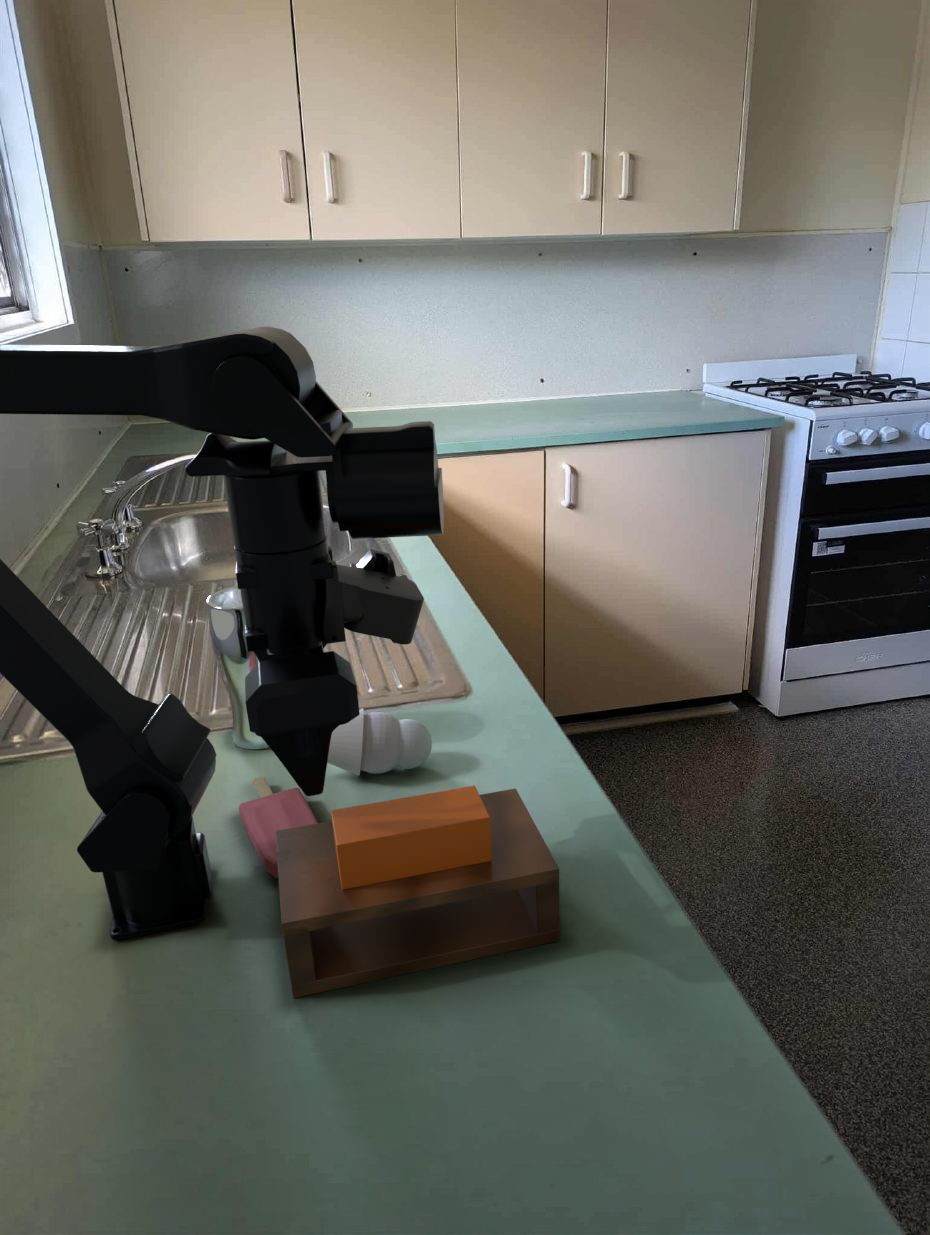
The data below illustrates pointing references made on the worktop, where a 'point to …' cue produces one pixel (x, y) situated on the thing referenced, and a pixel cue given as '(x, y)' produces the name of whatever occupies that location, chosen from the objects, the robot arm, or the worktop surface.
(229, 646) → the beer glass
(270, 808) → the popsicle
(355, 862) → the orange rectangular block
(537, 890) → the shelf
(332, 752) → the ice cream cone
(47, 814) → the worktop surface
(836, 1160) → the worktop surface
